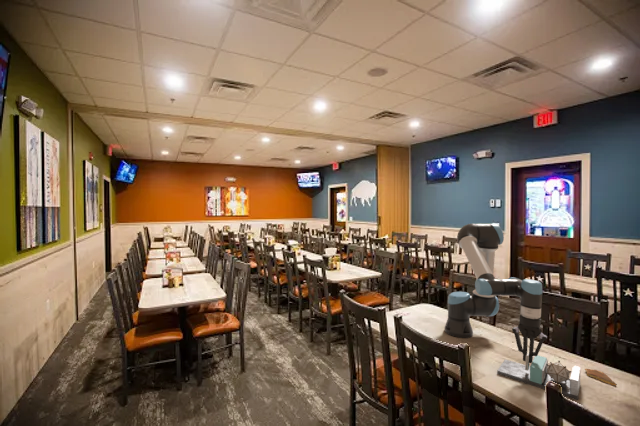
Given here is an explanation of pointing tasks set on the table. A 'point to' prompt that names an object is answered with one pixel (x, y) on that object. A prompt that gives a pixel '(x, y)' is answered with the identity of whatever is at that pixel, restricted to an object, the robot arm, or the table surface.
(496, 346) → the table surface
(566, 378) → the game die
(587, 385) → the table surface
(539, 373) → the block
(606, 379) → the shard
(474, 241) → the robot arm
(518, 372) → the vise bed
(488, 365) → the table surface
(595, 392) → the table surface
